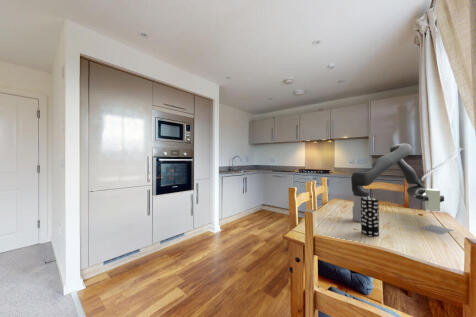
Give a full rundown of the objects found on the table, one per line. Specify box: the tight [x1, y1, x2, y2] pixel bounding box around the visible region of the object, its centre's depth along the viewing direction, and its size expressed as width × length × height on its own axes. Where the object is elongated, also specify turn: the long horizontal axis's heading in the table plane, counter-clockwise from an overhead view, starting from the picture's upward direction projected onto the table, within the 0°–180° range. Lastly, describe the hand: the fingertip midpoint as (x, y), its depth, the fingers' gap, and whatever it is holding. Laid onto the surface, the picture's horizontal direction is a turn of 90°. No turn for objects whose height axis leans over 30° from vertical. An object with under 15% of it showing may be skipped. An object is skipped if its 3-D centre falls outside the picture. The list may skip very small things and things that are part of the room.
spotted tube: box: [360, 196, 380, 238], centre depth 109 cm, size 8×8×20 cm
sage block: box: [424, 188, 441, 212], centre depth 113 cm, size 5×5×12 cm
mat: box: [419, 224, 454, 235], centre depth 113 cm, size 14×10×1 cm
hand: (434, 199), depth 111 cm, fingers closed on sage block, 5 cm apart
